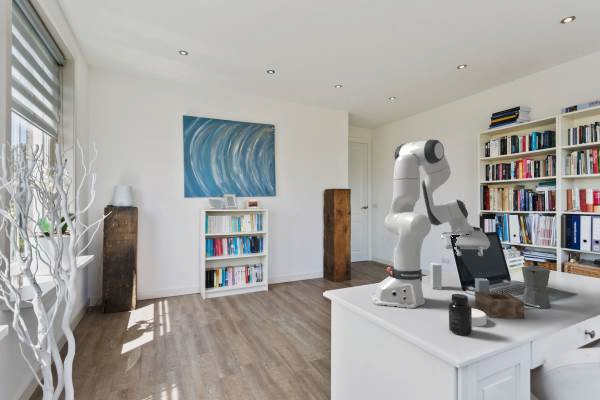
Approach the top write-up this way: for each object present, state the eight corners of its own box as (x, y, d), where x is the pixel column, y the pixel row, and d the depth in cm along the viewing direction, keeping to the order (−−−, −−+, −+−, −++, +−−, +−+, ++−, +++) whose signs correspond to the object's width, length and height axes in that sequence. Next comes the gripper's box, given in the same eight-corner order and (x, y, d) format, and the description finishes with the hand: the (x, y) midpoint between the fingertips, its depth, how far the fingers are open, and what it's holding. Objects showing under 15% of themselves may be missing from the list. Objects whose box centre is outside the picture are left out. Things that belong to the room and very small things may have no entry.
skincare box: (442, 289, 148) (441, 265, 148) (432, 289, 149) (432, 264, 149) (439, 286, 154) (438, 262, 154) (430, 285, 155) (429, 262, 155)
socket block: (489, 317, 113) (488, 301, 113) (475, 306, 125) (475, 291, 125) (524, 318, 111) (524, 302, 111) (507, 307, 123) (506, 292, 123)
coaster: (458, 325, 107) (458, 315, 107) (452, 315, 116) (452, 306, 116) (490, 328, 104) (490, 318, 104) (481, 317, 114) (481, 308, 114)
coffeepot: (549, 312, 117) (548, 265, 117) (519, 306, 124) (518, 262, 124) (552, 302, 128) (552, 259, 128) (525, 297, 135) (524, 256, 135)
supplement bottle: (476, 335, 98) (476, 298, 98) (456, 336, 98) (456, 299, 98) (463, 326, 105) (463, 292, 105) (444, 327, 104) (444, 292, 104)
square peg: (479, 301, 130) (479, 280, 130) (475, 298, 134) (475, 278, 134) (489, 302, 130) (489, 280, 130) (485, 299, 134) (484, 278, 134)
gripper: (441, 228, 153) (448, 251, 143) (485, 228, 150) (495, 251, 140) (439, 236, 157) (445, 258, 147) (481, 236, 154) (491, 259, 144)
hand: (470, 255), depth 144 cm, fingers open, 8 cm apart
